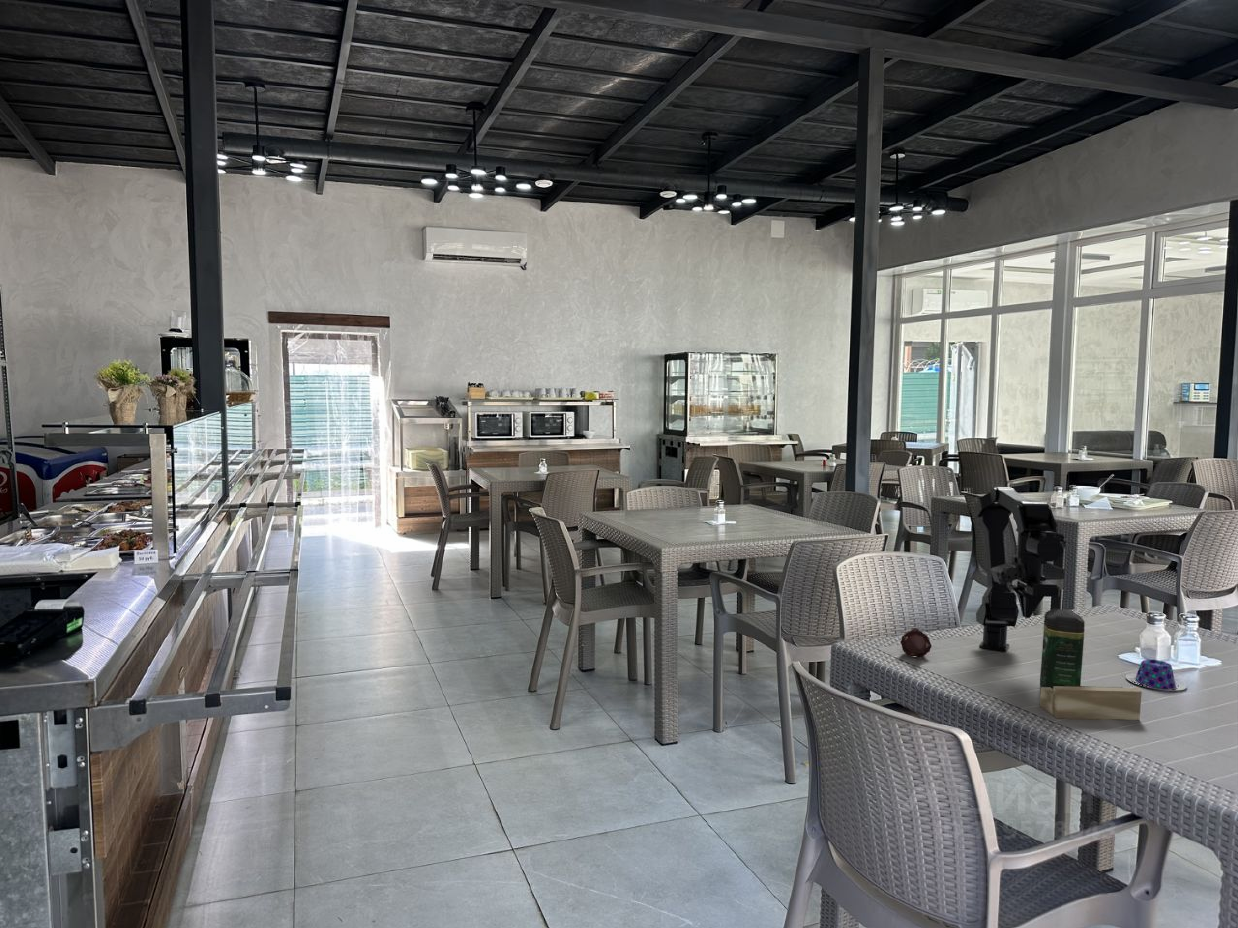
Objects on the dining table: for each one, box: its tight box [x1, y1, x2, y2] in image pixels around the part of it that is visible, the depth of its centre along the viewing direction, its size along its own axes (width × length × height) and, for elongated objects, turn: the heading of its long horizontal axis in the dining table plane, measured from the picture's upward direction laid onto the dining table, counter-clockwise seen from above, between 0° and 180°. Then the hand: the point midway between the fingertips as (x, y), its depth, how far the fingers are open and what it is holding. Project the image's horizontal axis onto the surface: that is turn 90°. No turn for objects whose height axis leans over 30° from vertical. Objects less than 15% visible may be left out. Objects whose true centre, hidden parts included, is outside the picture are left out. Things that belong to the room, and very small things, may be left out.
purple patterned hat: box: [1125, 658, 1187, 692], centre depth 194 cm, size 12×12×5 cm
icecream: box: [900, 627, 932, 658], centre depth 211 cm, size 7×7×15 cm
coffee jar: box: [1039, 607, 1085, 689], centre depth 186 cm, size 10×8×19 cm
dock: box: [1039, 685, 1142, 721], centre depth 175 cm, size 7×17×6 cm, turn 89°
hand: (1026, 617), depth 201 cm, fingers closed
